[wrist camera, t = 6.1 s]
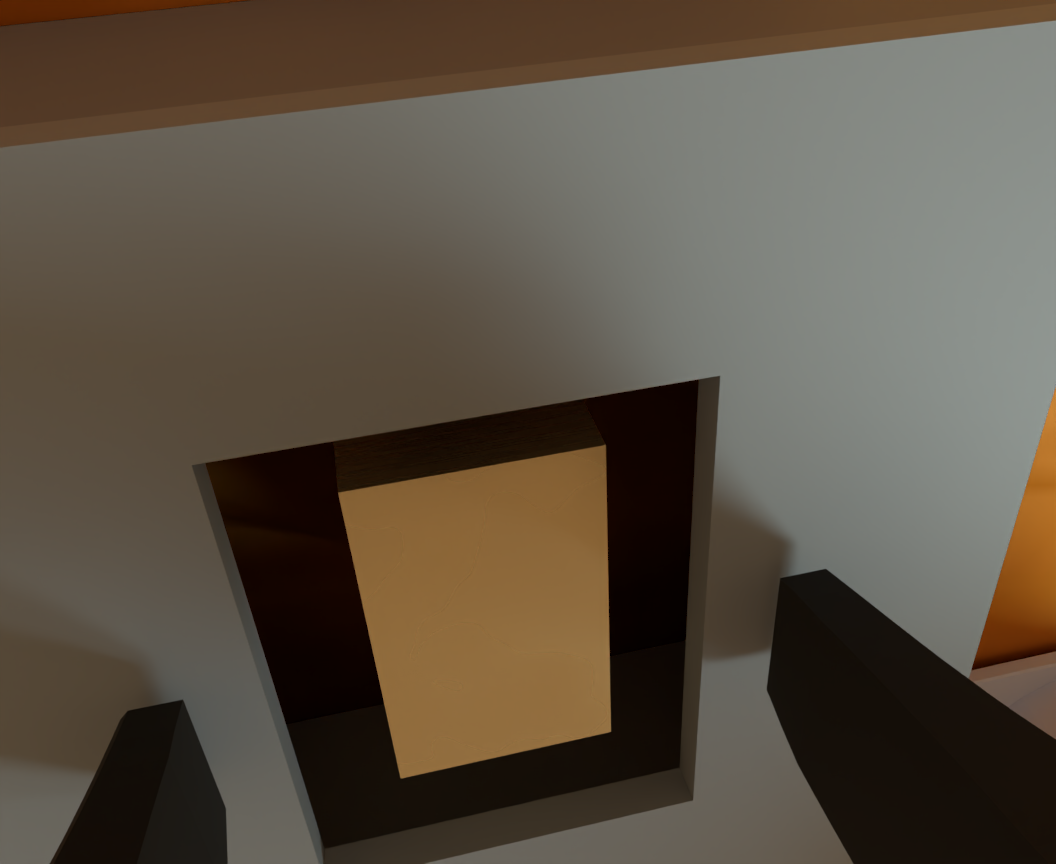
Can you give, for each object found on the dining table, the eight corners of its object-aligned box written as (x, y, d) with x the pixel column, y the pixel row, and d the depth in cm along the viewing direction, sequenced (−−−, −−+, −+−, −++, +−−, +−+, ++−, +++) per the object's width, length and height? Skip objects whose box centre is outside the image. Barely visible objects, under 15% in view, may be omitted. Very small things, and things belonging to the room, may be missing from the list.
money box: (787, 644, 21) (915, 857, 17) (128, 785, 19) (88, 1066, 15) (884, -65, 13) (1167, 6, 9) (-224, 49, 11) (-521, 210, 7)
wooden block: (533, 514, 18) (611, 731, 14) (371, 545, 17) (400, 778, 13) (515, 264, 15) (606, 444, 11) (320, 293, 14) (338, 492, 10)
